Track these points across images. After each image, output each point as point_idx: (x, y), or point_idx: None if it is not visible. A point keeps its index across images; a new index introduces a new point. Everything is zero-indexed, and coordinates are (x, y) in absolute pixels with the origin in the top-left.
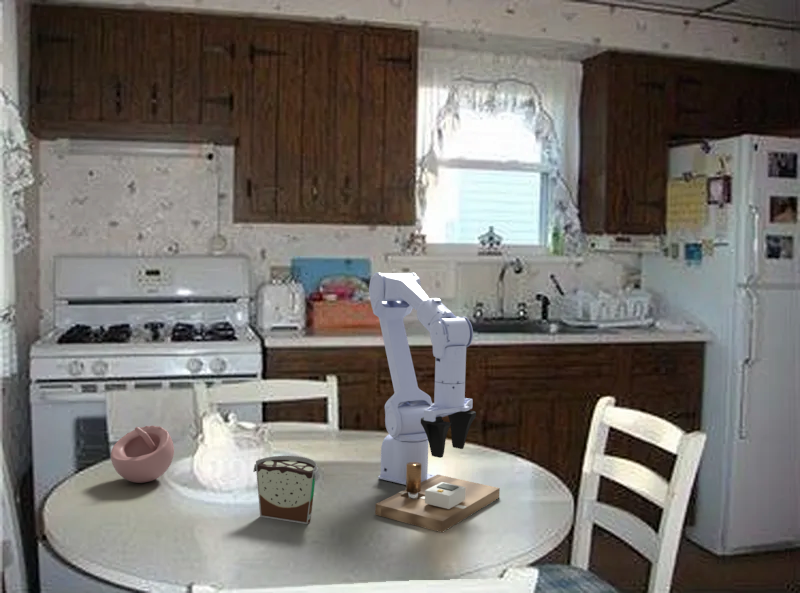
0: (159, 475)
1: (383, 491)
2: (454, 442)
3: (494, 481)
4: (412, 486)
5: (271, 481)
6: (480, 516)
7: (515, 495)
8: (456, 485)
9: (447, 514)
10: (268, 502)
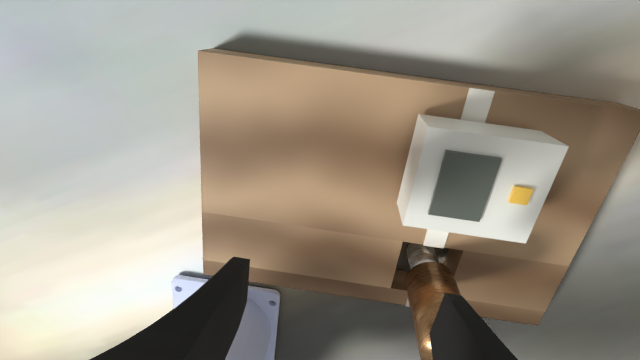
0: None
1: (346, 339)
2: (239, 315)
3: (72, 122)
4: (459, 290)
5: None
6: (420, 42)
7: (147, 2)
8: (421, 165)
9: (571, 121)
10: None
